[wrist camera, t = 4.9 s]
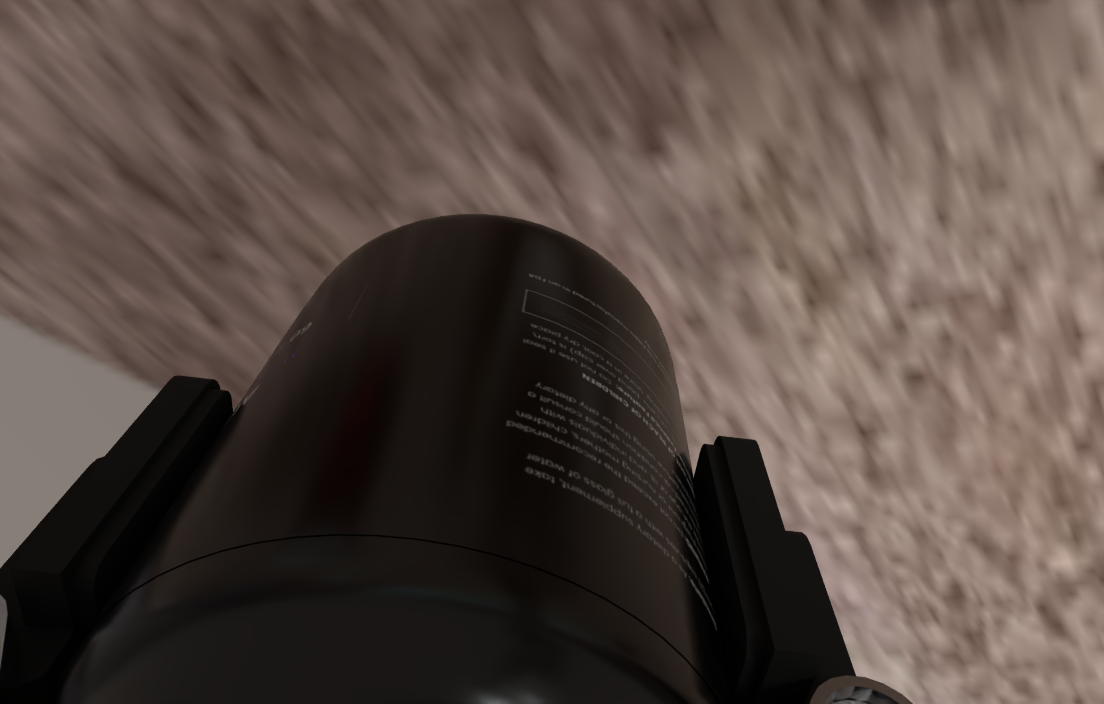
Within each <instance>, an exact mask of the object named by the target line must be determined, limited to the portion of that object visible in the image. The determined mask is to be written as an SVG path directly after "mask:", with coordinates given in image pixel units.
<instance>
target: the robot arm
mask: <svg viewBox="0 0 1104 704" xmlns="http://www.w3.org/2000/svg"><path fill="white" fill-rule="evenodd" d="M232 414H233V408H232V399H231V395H230V393H229V392H228V391H225V390H220V386H219V384H218V382H217V381H216V380H214V379H205V378H196V377H187V376H174V377H173V378H172V379H170V381H169V382H168V383H167V384H166V385H165V386H164V388H163V389H162V390H161V391H160V392H159V393H158V395H157V396H156V397H155V398H154V399H153V400H152V402H151V403H150V404H149V405H148V406H147V408H146V409H145V410H144V411H143V412H142V413H141V415H140V416H139V417H138V418H137V419H136V420H135V421H134V423H133V424H132V425H131V426H130V427H129V428H128V430H127V431H126V432H125V433H124V435H123V436H122V437H121V438H120V439H119V440H118V441H117V443H116V444H115V445H114V446H113V447H112V448H111V450H110V451H109V452H108V453H107V454H106V455H105V456H104V457H101V458H98V459H96V460H95V461H94V462H93V463H92V464H91V465H90V466H89V467H88V468H87V469H86V470H85V471H84V473H83V474H82V475H81V476H80V477H79V478H78V480H77V481H76V482H75V483H74V484H73V485H72V486H71V487H70V489H69V490H68V491H67V492H66V493H65V494H64V496H63V497H62V498H61V499H60V500H59V501H58V502H57V504H56V505H55V506H54V507H53V508H52V509H51V511H50V512H49V513H48V514H47V515H46V516H45V517H44V519H43V520H42V521H41V522H40V523H39V524H38V525H37V527H36V528H35V529H34V530H33V531H32V532H31V534H30V535H29V536H28V537H27V538H26V539H25V541H24V542H23V543H22V544H21V545H20V546H19V547H18V549H17V550H16V551H15V552H14V553H13V554H12V556H11V557H10V558H9V559H8V560H7V561H6V562H5V564H4V565H3V566H2V567H1V568H0V704H47V702H48V700H49V698H50V696H51V694H52V692H53V690H54V688H55V686H56V684H57V682H58V680H59V678H60V677H61V675H62V673H63V671H64V670H65V668H66V666H67V664H68V663H69V661H70V660H71V658H72V656H73V655H74V653H75V651H76V650H77V648H78V646H79V644H80V642H81V641H82V639H83V638H84V636H85V634H86V633H87V631H88V630H89V628H90V627H91V625H92V624H93V622H94V621H95V619H96V618H97V616H98V615H99V613H100V612H101V610H102V609H103V607H104V606H105V604H106V603H107V601H108V600H109V598H110V597H111V595H112V594H113V592H114V591H115V589H116V588H117V586H118V585H119V583H120V582H121V580H122V579H123V577H124V576H125V574H126V573H127V571H128V570H129V568H130V567H131V565H132V564H133V562H134V561H135V559H136V558H137V556H138V555H139V553H140V552H141V550H142V549H143V547H144V546H145V544H146V543H147V541H148V540H149V538H150V537H151V535H152V534H153V532H154V531H155V529H156V528H157V526H158V525H159V523H160V522H161V520H162V519H163V517H164V516H165V514H166V513H167V511H168V510H169V508H170V507H171V505H172V504H173V502H174V501H175V499H176V498H177V496H178V495H179V493H180V492H181V490H182V489H183V487H184V486H185V484H186V483H187V481H188V480H189V478H190V477H191V475H192V474H193V472H194V471H195V469H196V468H197V466H198V465H199V463H200V462H201V460H202V459H203V457H204V456H205V454H206V453H207V451H208V450H209V448H210V447H211V445H212V444H213V442H214V441H215V439H216V438H217V436H218V435H219V433H220V432H221V430H222V429H223V427H224V426H225V424H226V423H227V421H228V420H229V418H230V417H231V415H232ZM694 485H695V490H696V496H697V502H698V508H699V514H700V520H701V526H702V532H703V537H704V543H705V549H706V555H707V561H708V567H709V573H710V578H711V584H712V590H713V596H714V602H715V608H716V614H717V619H718V625H719V631H720V637H721V643H722V649H723V655H724V661H725V666H726V672H727V678H728V684H729V690H730V696H731V702H732V704H913V703H912V702H910V701H909V700H908V699H907V698H906V697H905V696H903V695H902V694H901V693H899V692H897V691H896V690H894V689H892V688H890V687H889V686H887V685H885V684H883V683H880V682H877V681H875V680H872V679H869V678H866V677H858V676H856V674H855V671H854V669H853V666H852V663H851V660H850V657H849V654H848V651H847V648H846V645H845V643H844V640H843V637H842V634H841V631H840V628H839V625H838V622H837V619H836V617H835V614H834V611H833V608H832V605H831V602H830V599H829V596H828V593H827V591H826V588H825V585H824V582H823V579H822V576H821V573H820V570H819V568H818V565H817V562H816V559H815V556H814V553H813V550H812V547H811V544H810V542H809V540H808V538H807V536H806V535H805V534H803V533H802V532H793V531H785V528H784V525H783V522H782V519H781V516H780V512H779V509H778V506H777V503H776V500H775V496H774V493H773V490H772V487H771V484H770V481H769V477H768V474H767V471H766V468H765V465H764V461H763V458H762V455H761V452H760V449H759V446H758V443H757V441H755V440H751V439H742V438H733V437H725V436H718V437H717V438H716V440H715V442H714V445H710V444H703V446H702V448H701V451H700V454H699V458H698V462H697V467H696V471H695V475H694Z"/></svg>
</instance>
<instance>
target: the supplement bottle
mask: <svg viewBox="0 0 1104 704" xmlns="http://www.w3.org/2000/svg"><path fill="white" fill-rule="evenodd" d="M47 704H732V702H731V696H730V690H729V684H728V678H727V672H726V666H725V661H724V655H723V649H722V643H721V637H720V631H719V625H718V619H717V614H716V608H715V602H714V596H713V590H712V584H711V578H710V573H709V567H708V561H707V555H706V549H705V543H704V537H703V532H702V526H701V520H700V514H699V508H698V502H697V496H696V490H695V485H694V479H693V473H692V467H691V461H690V455H689V449H688V444H687V438H686V432H685V426H684V420H683V414H682V408H681V403H680V397H679V391H678V386H677V383H676V377H675V372H674V367H673V362H672V358H671V355H670V351H669V348H668V345H667V342H666V339H665V336H664V334H663V332H662V329H661V327H660V325H659V322H658V320H657V319H656V317H655V315H654V313H653V311H652V310H651V308H650V306H649V305H648V303H647V302H646V301H645V299H644V298H643V296H642V295H641V293H640V292H639V291H638V290H637V289H636V287H635V286H634V285H633V284H632V283H631V282H630V281H629V279H628V278H627V277H626V276H625V275H623V274H622V273H621V272H620V271H619V270H618V269H617V268H616V267H615V266H614V265H613V264H612V263H610V262H609V261H608V260H606V259H605V258H604V257H603V256H601V255H600V254H599V253H597V252H596V251H594V250H593V249H591V248H590V247H588V246H586V245H585V244H583V243H581V242H580V241H578V240H576V239H574V238H572V237H570V236H568V235H566V234H564V233H562V232H559V231H557V230H554V229H552V228H549V227H546V226H544V225H541V224H537V223H534V222H530V221H526V220H523V219H517V218H512V217H506V216H499V215H488V214H458V215H448V216H440V217H435V218H430V219H425V220H421V221H417V222H414V223H411V224H408V225H404V226H401V227H399V228H396V229H394V230H392V231H389V232H387V233H385V234H382V235H381V236H379V237H377V238H375V239H373V240H371V241H370V242H368V243H366V244H365V245H363V246H362V247H360V248H359V249H358V250H356V251H355V252H353V253H352V254H351V255H349V256H348V257H347V258H346V259H345V260H344V261H343V262H341V263H340V264H339V265H338V266H337V267H336V268H335V269H334V270H333V271H332V272H331V274H330V275H329V276H328V277H327V278H326V279H325V280H324V281H323V282H322V284H321V285H320V286H319V288H318V289H317V290H316V292H315V293H314V295H313V296H312V297H311V299H310V300H309V302H308V303H307V304H306V306H305V307H304V308H303V310H302V311H301V313H300V314H299V315H298V317H297V318H296V320H295V321H294V322H293V324H292V325H291V327H290V328H289V330H288V331H287V333H286V334H285V336H284V337H283V339H282V340H281V342H280V343H279V345H278V346H277V348H276V349H275V351H274V352H273V354H272V355H271V357H270V358H269V360H268V361H267V363H266V364H265V366H264V367H263V369H262V370H261V372H260V373H259V375H258V376H257V378H256V379H255V381H254V382H253V384H252V385H251V387H250V388H249V390H248V391H247V393H246V394H245V396H244V397H243V399H242V400H241V402H240V403H239V405H238V406H237V408H236V409H235V411H234V412H233V414H232V415H231V417H230V418H229V420H228V421H227V423H226V424H225V426H224V427H223V429H222V430H221V432H220V433H219V435H218V436H217V438H216V439H215V441H214V442H213V444H212V445H211V447H210V448H209V450H208V451H207V453H206V454H205V456H204V457H203V459H202V460H201V462H200V463H199V465H198V466H197V468H196V469H195V471H194V472H193V474H192V475H191V477H190V478H189V480H188V481H187V483H186V484H185V486H184V487H183V489H182V490H181V492H180V493H179V495H178V496H177V498H176V499H175V501H174V502H173V504H172V505H171V507H170V508H169V510H168V511H167V513H166V514H165V516H164V517H163V519H162V520H161V522H160V523H159V525H158V526H157V528H156V529H155V531H154V532H153V534H152V535H151V537H150V538H149V540H148V541H147V543H146V544H145V546H144V547H143V549H142V550H141V552H140V553H139V555H138V556H137V558H136V559H135V561H134V562H133V564H132V565H131V567H130V568H129V570H128V571H127V573H126V574H125V576H124V577H123V579H122V580H121V582H120V583H119V585H118V586H117V588H116V589H115V591H114V592H113V594H112V595H111V597H110V598H109V600H108V601H107V603H106V604H105V606H104V607H103V609H102V610H101V612H100V613H99V615H98V616H97V618H96V619H95V621H94V622H93V624H92V625H91V627H90V628H89V630H88V631H87V633H86V634H85V636H84V638H83V639H82V641H81V642H80V644H79V646H78V648H77V650H76V651H75V653H74V655H73V656H72V658H71V660H70V661H69V663H68V664H67V666H66V668H65V670H64V671H63V673H62V675H61V677H60V678H59V680H58V682H57V684H56V686H55V688H54V690H53V692H52V694H51V696H50V698H49V700H48V702H47Z"/></svg>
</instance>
